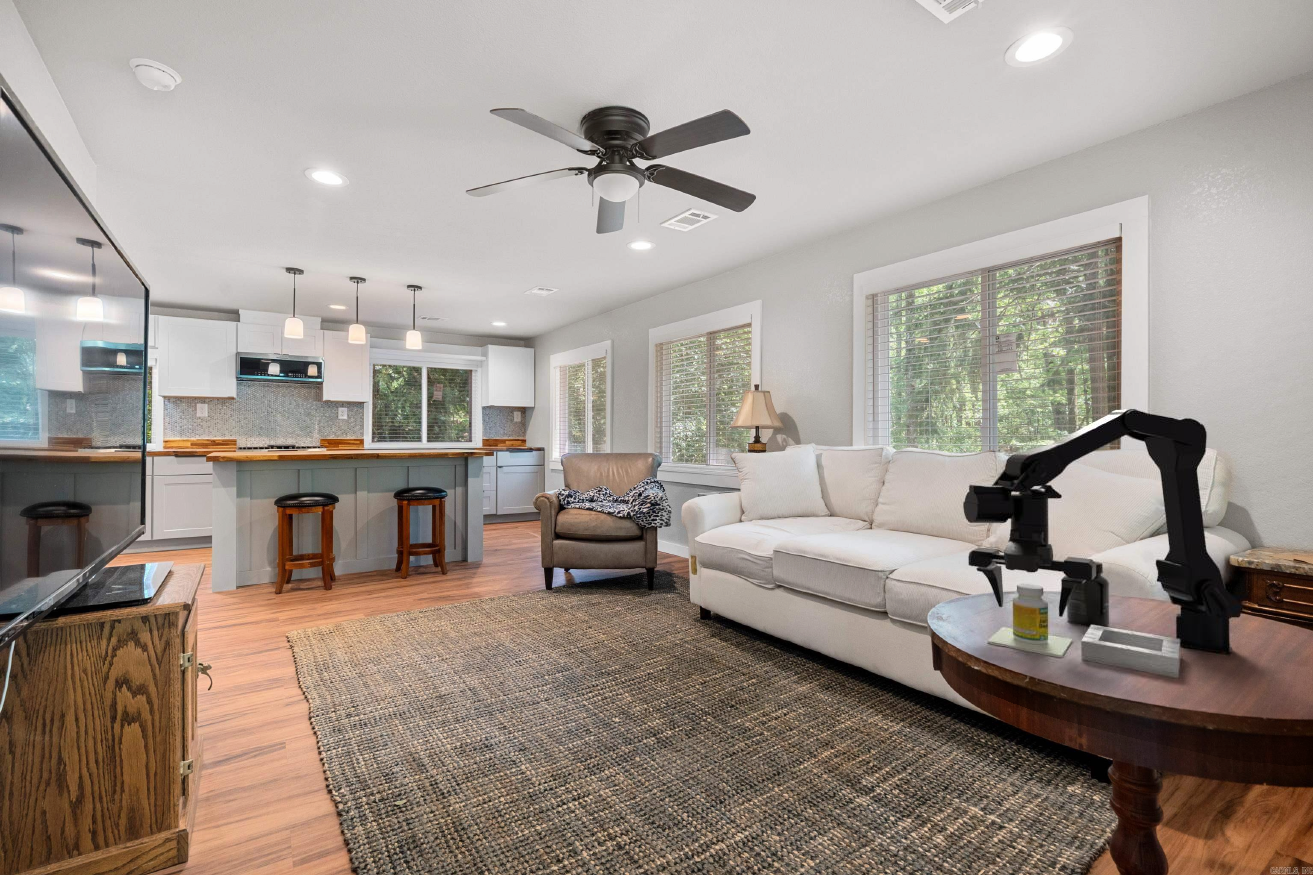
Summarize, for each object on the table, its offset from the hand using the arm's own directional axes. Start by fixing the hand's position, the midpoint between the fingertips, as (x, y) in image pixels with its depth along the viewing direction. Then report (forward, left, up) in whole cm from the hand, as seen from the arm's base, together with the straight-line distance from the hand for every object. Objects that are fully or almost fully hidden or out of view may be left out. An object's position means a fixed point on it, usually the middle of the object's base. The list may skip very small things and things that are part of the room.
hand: (1030, 611), depth 107 cm
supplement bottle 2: (-6, -21, -6) cm, 23 cm away
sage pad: (0, 0, -6) cm, 6 cm away
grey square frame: (-14, -2, -6) cm, 15 cm away
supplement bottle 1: (0, 0, -5) cm, 5 cm away
